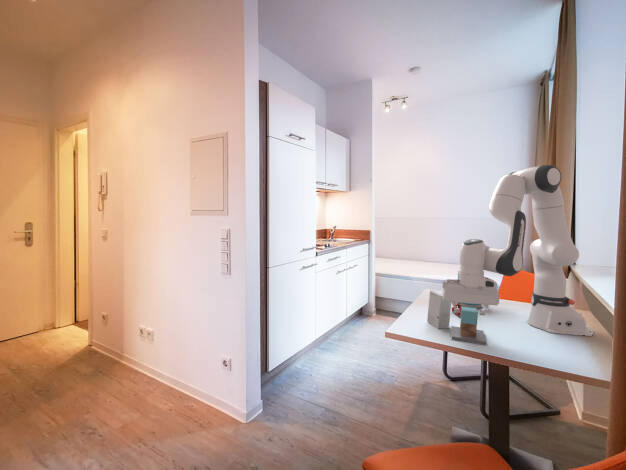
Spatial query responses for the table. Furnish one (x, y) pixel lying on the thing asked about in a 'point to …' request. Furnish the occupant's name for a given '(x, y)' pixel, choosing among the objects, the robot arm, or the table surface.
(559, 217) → the robot arm
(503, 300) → the table surface
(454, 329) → the baseplate
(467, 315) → the teal block
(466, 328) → the walnut brick
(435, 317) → the skincare box
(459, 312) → the toy fire truck
